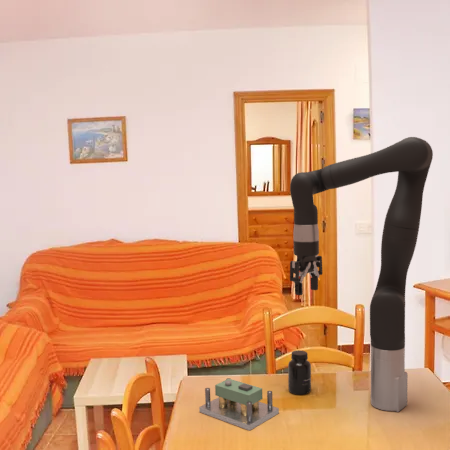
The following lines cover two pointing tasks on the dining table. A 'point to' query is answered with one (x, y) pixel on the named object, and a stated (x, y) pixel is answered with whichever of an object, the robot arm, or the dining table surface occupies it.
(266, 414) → the chassis
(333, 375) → the dining table surface
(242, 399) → the board
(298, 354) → the supplement bottle
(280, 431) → the dining table surface
